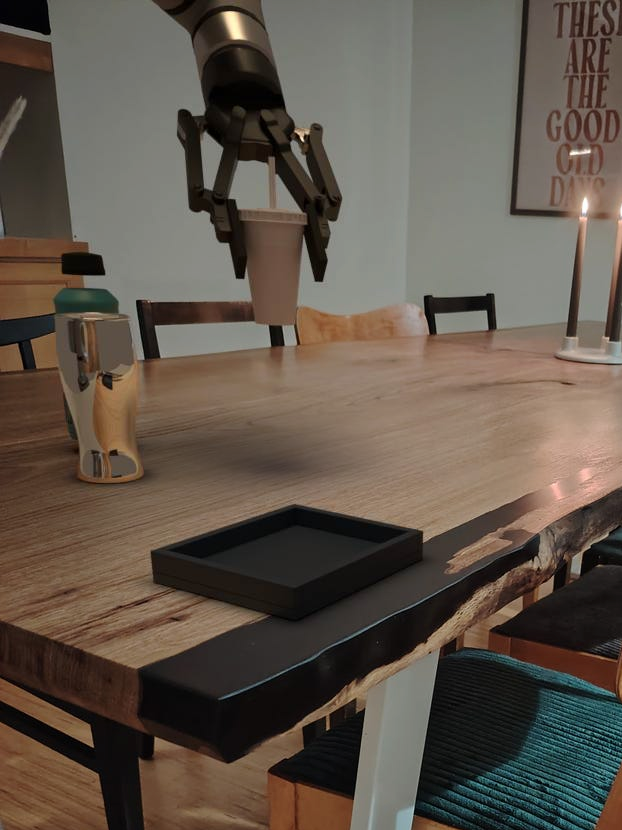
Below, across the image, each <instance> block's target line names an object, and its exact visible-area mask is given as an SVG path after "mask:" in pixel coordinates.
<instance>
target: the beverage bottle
mask: <svg viewBox="0 0 622 830" xmlns="http://www.w3.org/2000/svg"><path fill="white" fill-rule="evenodd" d="M60 262H61V267H60V269H61V275H65V276H66V275H67V276H68V275H69V276H88V277H103V276H104V277H105V276H107V275H106V269H105V265H104V259H103V255H101V254H97V253H94V252H93V253H92V252H86V251H71V252H64V253H63V252H62V253H61V255H60ZM52 301H53V302H52V303H53V306H54V313H55V314H58V313H70V312H101V313H117V314H120V310H119V307H120V302H119V299H117V297H116V296H114V295H113V293H112V292H111V291H109V290H108V289H106V288H99V287H98V288H96V287H62V288H61V289H60V290H59V291H58V292H57V293H56V294H55V296H54V297H53V299H52ZM60 383H61V384H62V382H61V381H60ZM61 387H62V391H63V392H62V398H63V407H64V414H65V415H64V416H65V422H66V423H67V424H66V426H67V427H66V430H67V432H68V434H69V436H70V439H72V440H74V441H78V438H77V433H76V429H75V426H74V422H73V419H72V416H71V413H70V410H69V406H68V403H67V400H66V397H65V393H64V390H63V386H62V385H61Z"/></svg>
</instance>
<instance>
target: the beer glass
mask: <svg viewBox="0 0 622 830" xmlns="http://www.w3.org/2000/svg"><path fill="white" fill-rule="evenodd" d="M53 317H54V325H55V326H54V329H55V331H54V332H55V349H56V350H55V351H56V360H57V368H58V372H59V379H60V383H61V382H62V383H61V387H62V386H63V387H62V389H63V390H64V391H63V390H62V391H63V393H65V397H66V400H67V403H68V406H69V410H70V413H71V416H72V419H73V422H74V426H75V429H76V433H77V438H78V440H77V444H78V461H77V462H78V464H77V478H78V479H79V480H82V482H86V483H92V484H93V483H94V484H119V483H128V482H132V481H136V480H139V479H141V478H142V477H143V476H144V474H145V473H144V472H145V471H144V467H143V463H142V461H141V458H140V457H141V456H140V454H139V450H138V445H137V431H136V429H137V428H136V427H137V414H138V413H137V412H138V411H137V410H138V398H139V362H138V353H137V346H136V342H135V335H134V330H133V325H132V319H131V318H132V317H131V315H129V314H126V313H119V314H117V313H101V312H70V313H58V314H56V313H55V314H54V315H53Z"/></svg>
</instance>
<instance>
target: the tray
mask: <svg viewBox="0 0 622 830" xmlns="http://www.w3.org/2000/svg"><path fill="white" fill-rule="evenodd" d="M423 549H424V530H421V529H416V528H412V527H407V526H402V525H396V524H392V523H388V522H383V521H378V520H374V519H370V518H364V517H358V516H354V515H350V514H345V513H340V512H335V511H330V510H326V509H322V508H321V509H320V508H315V507H311V506H307V505H302V504H297V503H291V504H290V505H286V506H283V507H280V508H277V509H274V510H271V511H268V512H264V513H262V514H259V515H256V516H252V517H250V518H247V519H243V520H240V521H237V522H234V523H231V524H228V525H225V526H222V527H219V528H216V529H212V530H209V531H206V532H204V533H201V534H198V535H193V536H192V537H189V538H185V539H183V540H180V541H175V542H173V543H170V544H167V545H164V546H161V547H158V548H155V549H151V550H150V562H151V571H152V572H151V573H152V581H153V583H157V584H159V585H164V586H168V587H171V588H175V589H179V590H182V591H186V592H190V593H192V594H196V595H201V596H204V597H207V598H211V599H215V600H217V601H218V600H219V601H222V602H225V603H229V604H232V605H236V606H239V607H243V608H248V609H251V610H254V611H258V612H262V613H265V614H268V615H273V616H275V617H280V618H282V619H287V620H290V621H295V622H297V621H298V620H301V619H302V618H305V617H307V616H309V615H311V614H313V613H314V612H317V611H319V610H321V609H323V608H325V607H327V606H329V605H331V604H333V603H335V602H337V601H339V600H342V599H344V598H345V597H348V596H349V595H352V594H354V593H355V592H358V591H360V590H362V589H364V588H366V587H368V586H371V585H372V584H375V583H376V582H378V581H380V580H382V579H385V578H386V577H388V576H390V575H392V574H395V573H397V572H399V571H401V570H403V569H405V568H406V567H409V566H411V565H413V564H414V563H417V562H420V561H421V560H423V558H424V557H423V556H424V554H423V553H424V550H423Z"/></svg>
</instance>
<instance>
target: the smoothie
mask: <svg viewBox="0 0 622 830" xmlns="http://www.w3.org/2000/svg"><path fill="white" fill-rule="evenodd" d="M268 163H269V166H268V188H269V189H268V190H269V191H268V193H269V208H265V207H263V208H262V207H257V208H255V209H254V208H237V209H238V214H239V218H240V223H241V228H242V233H243V237H244V242H245V247H246V252H247V256H248V257H247V265H246V272H247V279H248V285H249V291H250V298H251V305H252V310H253V317H254V324H256V325H263V326H285V327H286V326H295V325H296V321H297V320H296V318H297V309H298V298H299V287H300V277H301V265H302V257H303V246H304V225H308V223H307V214H306V213H303V212H301V211H290V210H289V209H283V208H282V209H281V208H277V190H276V189H277V187H276V186H277V185H276V183H277V182H276V175H275V157H268Z"/></svg>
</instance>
